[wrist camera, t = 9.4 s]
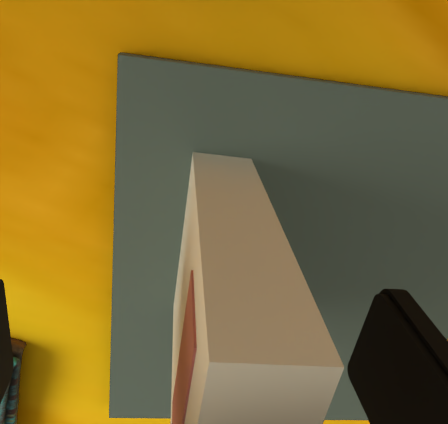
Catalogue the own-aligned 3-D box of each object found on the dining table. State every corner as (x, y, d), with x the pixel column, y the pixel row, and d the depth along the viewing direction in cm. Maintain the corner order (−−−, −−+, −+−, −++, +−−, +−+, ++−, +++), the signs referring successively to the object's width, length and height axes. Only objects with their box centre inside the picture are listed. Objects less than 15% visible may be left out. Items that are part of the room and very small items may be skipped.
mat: (120, 52, 13) (118, 54, 12) (546, 110, 15) (560, 114, 14) (110, 406, 20) (109, 417, 19) (401, 410, 22) (406, 420, 21)
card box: (191, 151, 14) (206, 362, 6) (252, 159, 14) (347, 367, 6) (172, 305, 17) (164, 589, 9) (223, 308, 17) (262, 584, 9)
